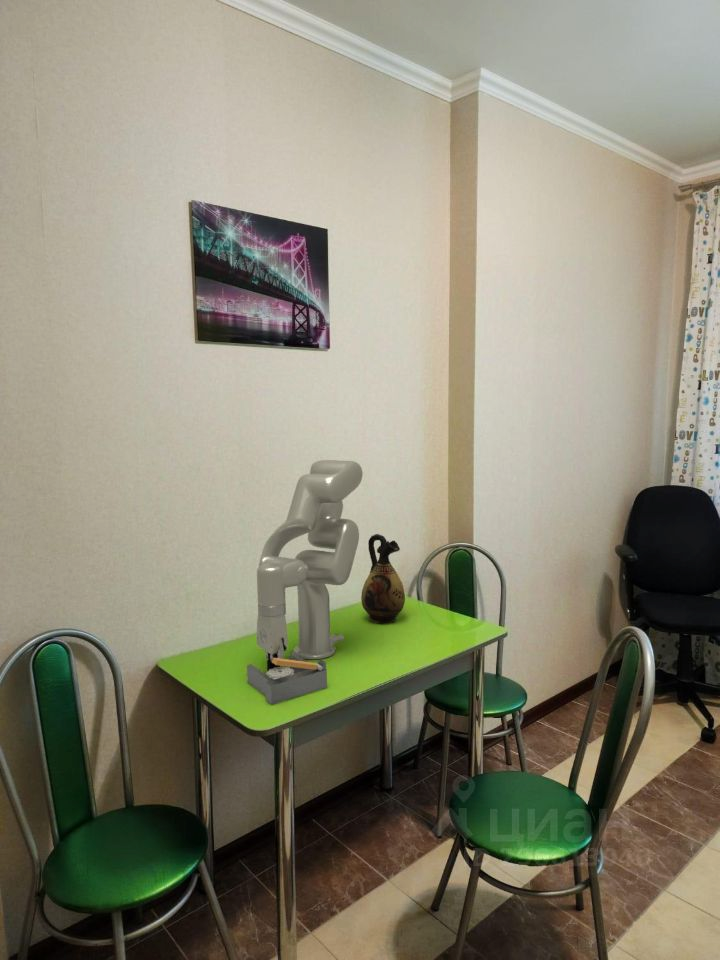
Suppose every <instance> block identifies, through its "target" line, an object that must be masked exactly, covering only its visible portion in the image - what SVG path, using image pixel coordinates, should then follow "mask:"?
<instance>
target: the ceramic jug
mask: <svg viewBox="0 0 720 960" xmlns="http://www.w3.org/2000/svg"><path fill="white" fill-rule="evenodd" d="M376 541H380V545H379V546H378V547H377V548H376V550H375V542H376ZM367 544H368V547H367V548H368V552H369V556H370V557H369V558H370V561H371V566H370V571H369V574H368V576H367V577H366V579H365V581H364V584H363V586H362V589H361V597H360V599H361V605H362V607H363V609H364V611H365V612H366V614H368V619H369V621H371V622H373V623H375V624H379V625H383V624H384V625H385V624H387V625H389V624H393V623H395V622H396V621H397V620H396V618H397V617H398V615H399V614H400V613H401V612H402V610H403V609H404V606H405V604H406V603H405V602H406V595H405V590H404V585H403V582H402V580H401V578H400V576H399V575H398V573H397V571H396V569H395V568H394V567H393V565H392V563H391V562H390V557H389V556H390V555H391V554H393V553H397V552H399V551H401V549H400V546H399V543H398V542H397V541H395V540H392V541H390V540H388V541H387V539H386V538H385V535H382V534H379V533H375V534H374V535H373V534H372V535H371V536H370V538H369V539H368V543H367ZM376 552H377V554H379V556H378V557H379V558H377V555H376ZM395 620H396V621H395Z"/></svg>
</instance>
